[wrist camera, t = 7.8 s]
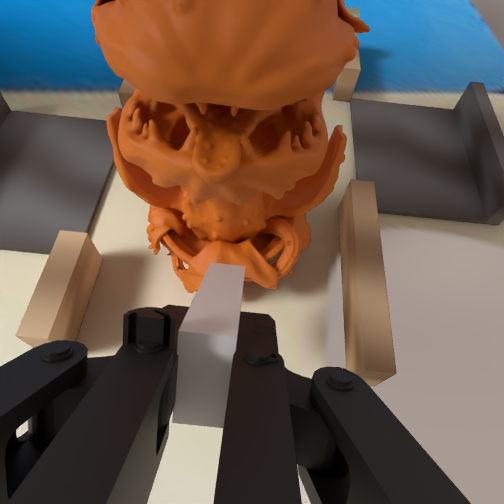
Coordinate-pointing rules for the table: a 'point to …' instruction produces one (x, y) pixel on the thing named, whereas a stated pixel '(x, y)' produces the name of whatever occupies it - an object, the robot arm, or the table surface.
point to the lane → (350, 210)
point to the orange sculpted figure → (227, 123)
